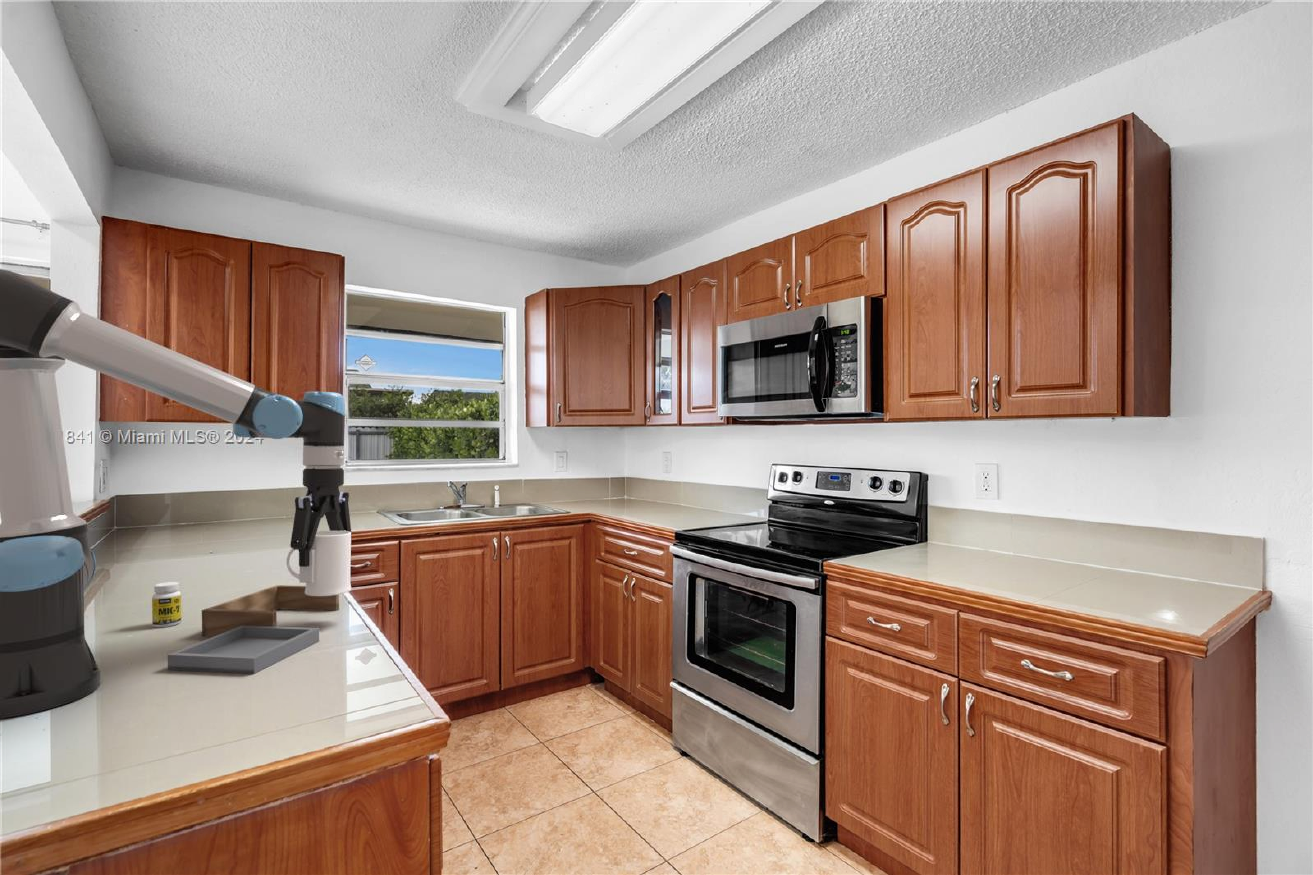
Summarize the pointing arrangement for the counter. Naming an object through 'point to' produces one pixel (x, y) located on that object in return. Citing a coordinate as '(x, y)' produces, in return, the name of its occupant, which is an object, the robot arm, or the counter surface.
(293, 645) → the tray
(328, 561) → the mug
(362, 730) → the counter surface
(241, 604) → the bay
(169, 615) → the supplement bottle
